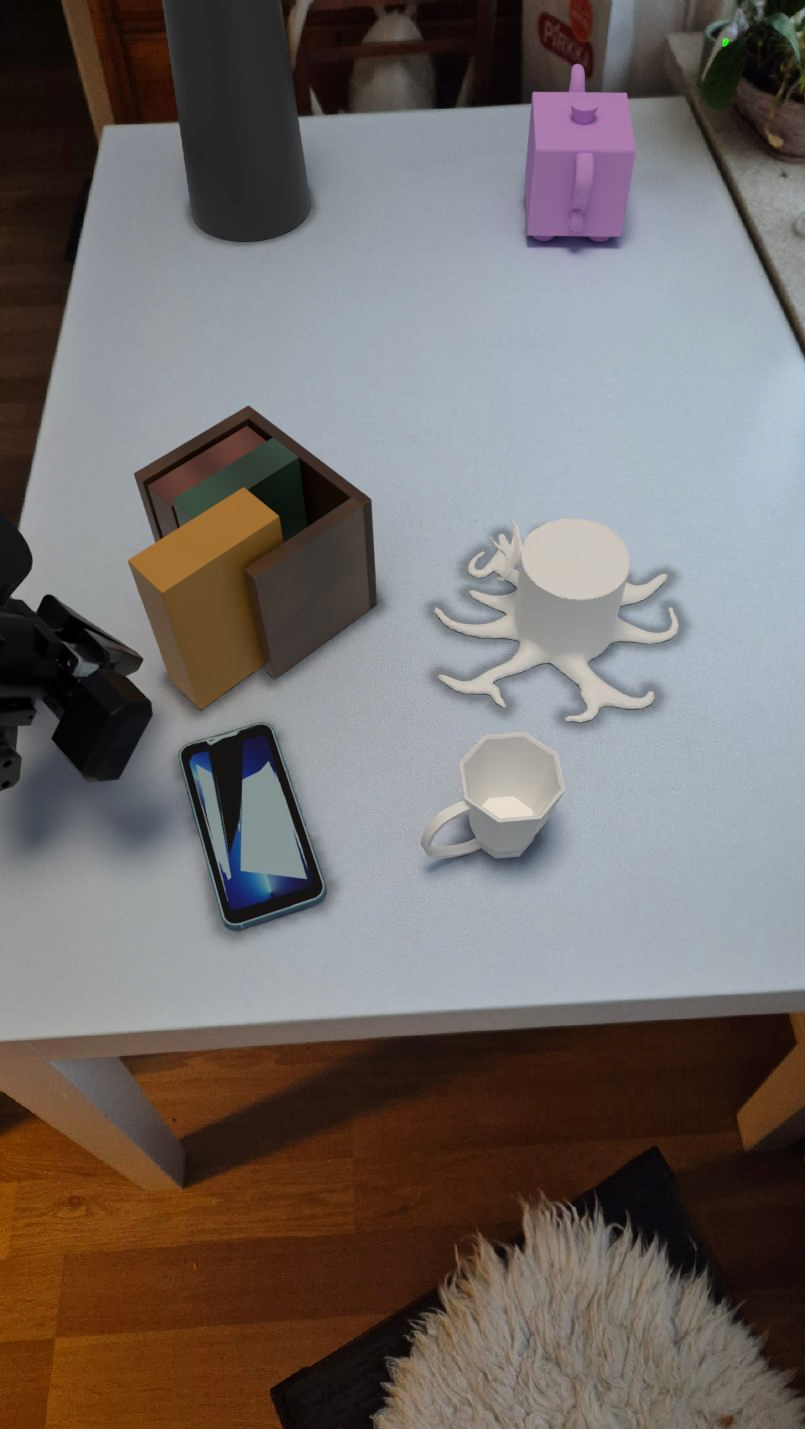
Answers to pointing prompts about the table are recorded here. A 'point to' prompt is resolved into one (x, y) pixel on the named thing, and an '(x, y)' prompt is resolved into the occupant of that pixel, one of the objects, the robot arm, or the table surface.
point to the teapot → (578, 162)
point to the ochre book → (207, 595)
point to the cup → (502, 796)
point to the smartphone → (250, 826)
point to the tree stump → (561, 608)
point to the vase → (237, 117)
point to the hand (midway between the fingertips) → (138, 661)
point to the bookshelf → (314, 522)
